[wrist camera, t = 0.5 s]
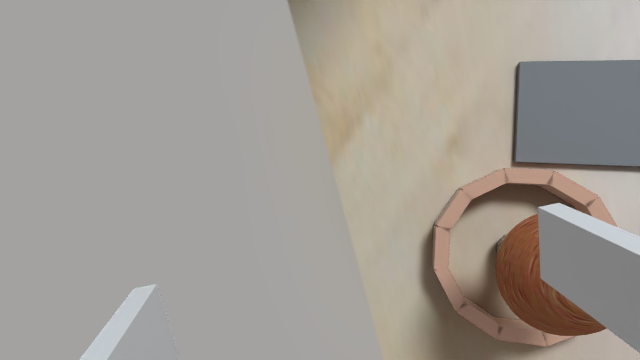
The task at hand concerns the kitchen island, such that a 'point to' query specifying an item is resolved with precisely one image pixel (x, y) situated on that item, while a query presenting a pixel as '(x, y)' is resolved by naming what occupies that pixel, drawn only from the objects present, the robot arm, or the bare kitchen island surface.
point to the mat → (578, 113)
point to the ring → (453, 210)
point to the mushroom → (536, 286)
